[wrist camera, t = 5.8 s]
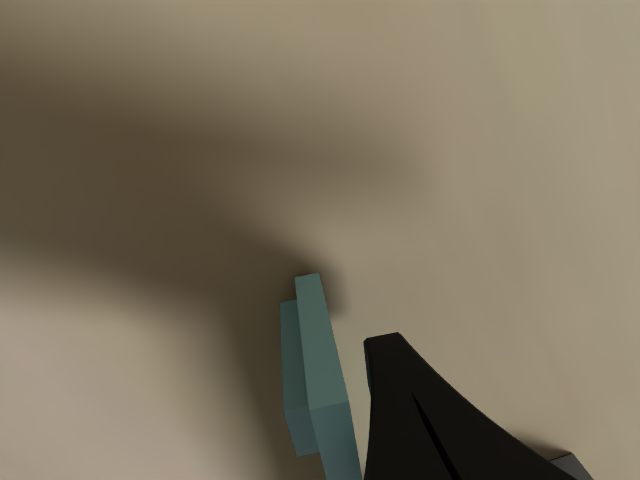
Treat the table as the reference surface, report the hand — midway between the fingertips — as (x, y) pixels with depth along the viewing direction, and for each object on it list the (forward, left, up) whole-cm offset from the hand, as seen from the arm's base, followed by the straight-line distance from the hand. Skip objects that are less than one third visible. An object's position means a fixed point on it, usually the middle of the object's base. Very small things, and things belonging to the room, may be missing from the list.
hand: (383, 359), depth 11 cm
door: (-5, +3, -2) cm, 6 cm away
